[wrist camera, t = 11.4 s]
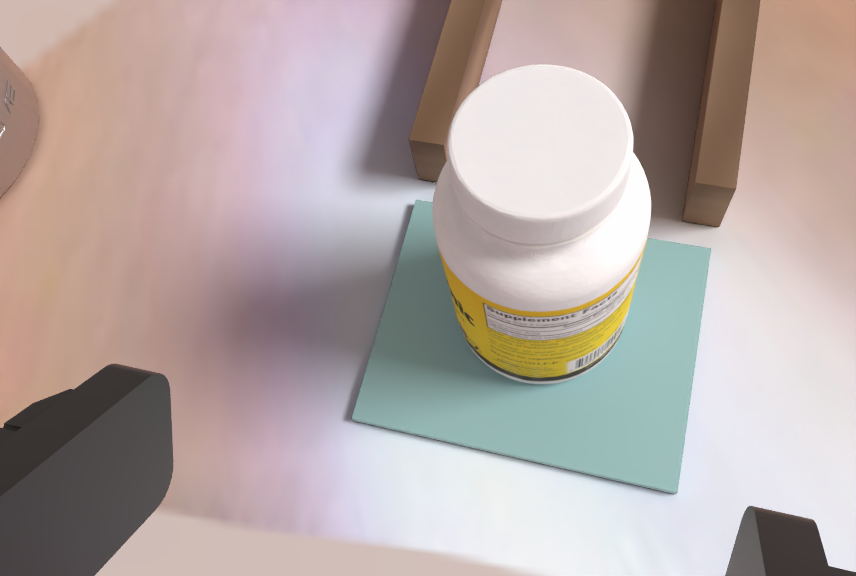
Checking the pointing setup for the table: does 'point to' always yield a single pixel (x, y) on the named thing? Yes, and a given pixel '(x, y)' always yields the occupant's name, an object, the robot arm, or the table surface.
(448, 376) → the pad
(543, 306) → the supplement bottle
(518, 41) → the table surface
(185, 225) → the table surface
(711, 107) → the chute
